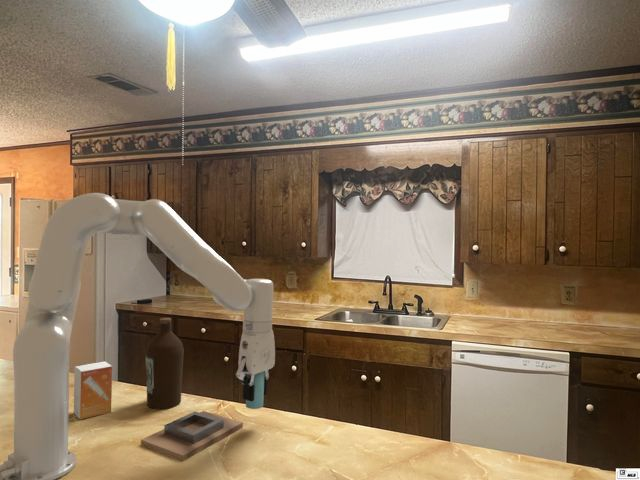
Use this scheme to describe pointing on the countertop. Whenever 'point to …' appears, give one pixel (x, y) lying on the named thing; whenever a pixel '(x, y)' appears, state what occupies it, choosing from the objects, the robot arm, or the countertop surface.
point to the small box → (92, 389)
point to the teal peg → (257, 392)
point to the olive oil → (164, 368)
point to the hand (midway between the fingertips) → (254, 396)
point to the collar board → (191, 434)
